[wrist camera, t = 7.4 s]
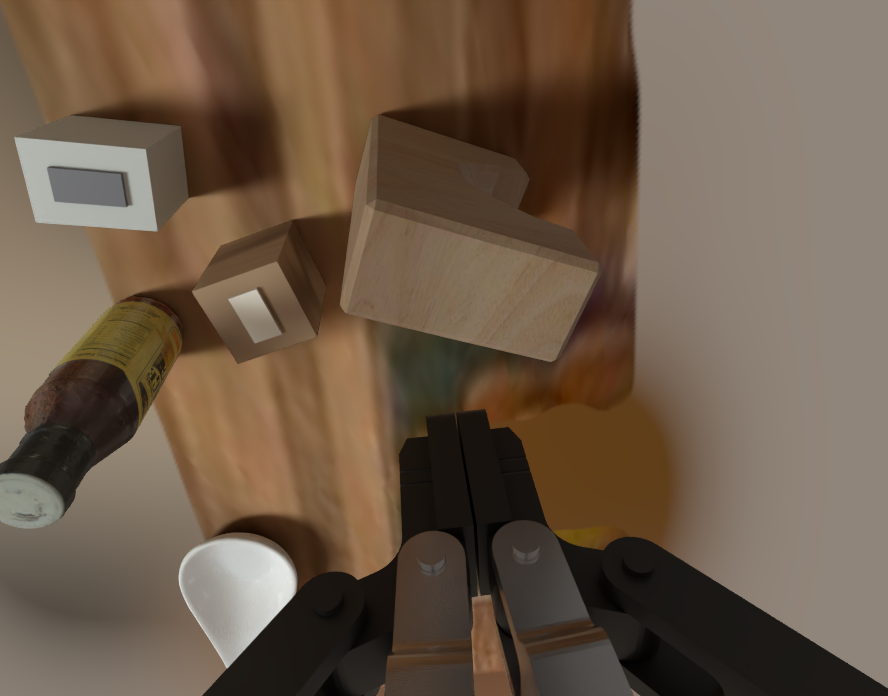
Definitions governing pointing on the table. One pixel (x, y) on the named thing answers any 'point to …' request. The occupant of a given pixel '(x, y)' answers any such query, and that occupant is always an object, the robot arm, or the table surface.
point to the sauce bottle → (88, 408)
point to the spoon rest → (236, 588)
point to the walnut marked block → (263, 292)
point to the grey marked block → (104, 172)
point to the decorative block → (459, 247)
